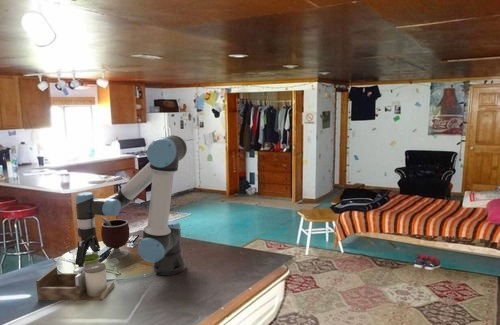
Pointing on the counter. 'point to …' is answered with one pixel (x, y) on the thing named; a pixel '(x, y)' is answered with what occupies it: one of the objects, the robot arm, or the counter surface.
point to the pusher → (80, 279)
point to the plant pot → (91, 259)
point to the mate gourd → (115, 236)
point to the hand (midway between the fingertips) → (89, 271)
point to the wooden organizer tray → (64, 287)
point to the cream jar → (95, 279)
